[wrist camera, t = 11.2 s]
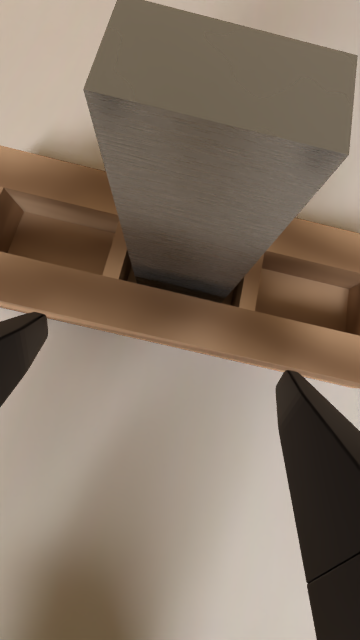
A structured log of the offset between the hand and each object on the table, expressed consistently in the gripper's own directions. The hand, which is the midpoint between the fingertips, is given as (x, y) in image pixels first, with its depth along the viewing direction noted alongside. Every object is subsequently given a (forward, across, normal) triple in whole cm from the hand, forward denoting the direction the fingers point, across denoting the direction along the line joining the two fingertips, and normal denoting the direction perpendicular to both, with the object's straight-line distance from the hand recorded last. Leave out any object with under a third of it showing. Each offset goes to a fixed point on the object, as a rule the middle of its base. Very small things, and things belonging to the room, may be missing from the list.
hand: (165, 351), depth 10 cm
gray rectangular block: (+10, 0, +1) cm, 10 cm away
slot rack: (+11, 0, +2) cm, 11 cm away
